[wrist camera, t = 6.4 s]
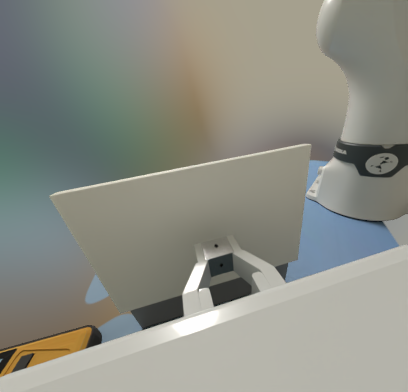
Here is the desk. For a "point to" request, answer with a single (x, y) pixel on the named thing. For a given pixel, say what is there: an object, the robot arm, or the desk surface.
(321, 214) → the desk surface
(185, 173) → the cover
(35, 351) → the electronic device
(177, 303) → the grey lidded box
